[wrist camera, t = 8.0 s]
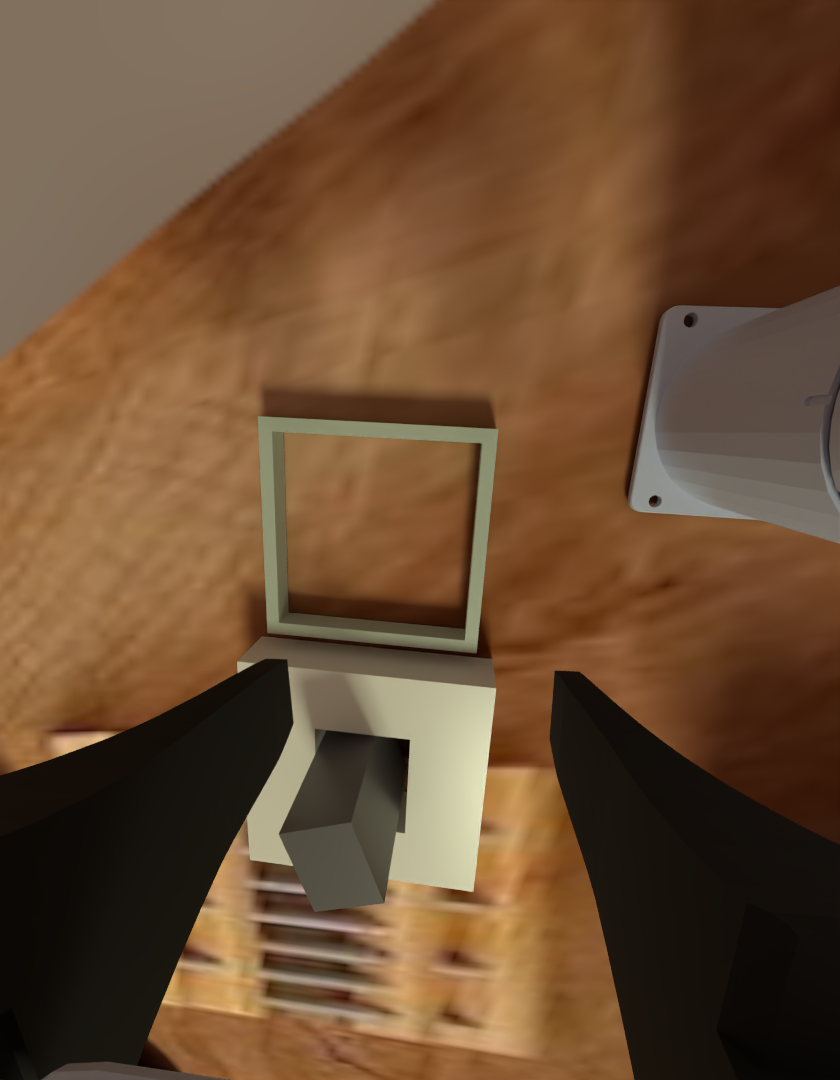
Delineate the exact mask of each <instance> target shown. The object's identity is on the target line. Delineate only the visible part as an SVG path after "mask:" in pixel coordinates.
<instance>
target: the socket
mask: <svg viewBox="0 0 840 1080" xmlns="http://www.w3.org/2000/svg"><path fill="white" fill-rule="evenodd" d="M266 658H267V659H287V661H288V671H289V681H290V691H291V701H292V711H293V721H294V724H293V727H292V729H291V732H290V734H289V737H288V739H287V742H286V744H285V747H284V749H283V752H282V754H281V756H280V759H279V760H278V762H277V764H276V766H275V768H274V770H273V771H272V773H271V775H270V777H269V779H268V780H267V782H266V784H265V786H264V787H263V789H262V791H261V793H260V795H259V796H258V798H257V800H256V802H255V803H254V805H253V807H252V809H251V810H250V812H249V814H248V816H247V821H248V836H249V851H250V860H256V861H263V862H270V863H277V864H284V865H291V866H293V864H292V862H291V860H290V858H289V855H288V853H287V851H286V849H285V847H284V845H283V842H282V840H281V838H280V836H279V832H280V830H281V828H282V826H283V824H284V821H285V819H286V817H287V815H288V813H289V810H290V808H291V806H292V804H293V802H294V800H295V797H296V795H297V793H298V791H299V789H300V786H301V784H302V782H303V780H304V778H305V776H306V773H307V771H308V769H309V767H310V765H311V762H312V760H313V758H314V756H315V754H316V752H317V749H318V747H319V745H320V743H321V741H322V738H323V736H324V734H325V732H326V730H331V731H339V732H348V733H357V734H365V735H374V736H382V737H391V738H400V739H408V740H410V751H409V769H408V787H407V792H404V791H403V794H402V800H401V806H400V812H399V818H398V824H397V830H396V835H395V841H394V847H393V853H392V859H391V865H390V871H389V877H388V880H395V881H402V882H409V883H416V884H423V885H430V886H436V887H443V888H450V889H457V890H464V891H471V892H473V889H474V880H475V871H476V862H477V854H478V845H479V836H480V827H481V818H482V809H483V800H484V792H485V783H486V774H487V765H488V756H489V747H490V739H491V730H492V721H493V712H494V703H495V694H496V683H495V676H494V668H493V660H492V659H488V658H477V657H467V656H457V655H447V654H437V653H426V652H416V651H406V650H396V649H386V648H376V647H365V646H355V645H345V644H335V643H325V642H315V641H304V640H294V639H284V638H274V637H264V636H262V637H261V638H260V639H259V640H258V641H257V642H256V643H255V644H254V645H253V646H252V647H251V648H250V649H249V650H248V651H247V652H246V653H245V654H244V655H243V656H242V657H241V658H240V659H239V660H238V661H237V667H238V673H239V672H240V671H242V670H244V669H246V668H248V667H250V666H251V665H253V664H255V663H257V662H259V661H262V660H264V659H266Z"/></svg>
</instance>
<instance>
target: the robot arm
mask: <svg viewBox="0 0 840 1080" xmlns="http://www.w3.org/2000/svg"><path fill="white" fill-rule="evenodd" d="M686 315H689V316H691V317H692V319H693V324H692V326H691V327H690V328H689V327H686V326H685V324H684V318H685V316H686ZM654 495H656V496H657V499H658V501H657V503H656V504H655V505H653V506H650V505H649V499H650V498H651V497H652V496H654ZM628 504H629V506H630V507H631V508H632V509H633V510H635V511H639V512H650V513H665V514H679V515H694V516H709V517H724V518H738V519H753V520H762V521H765V522H768V523H772V524H775V525H778V526H782V527H785V528H789V529H792V530H795V531H799V532H802V533H805V534H809V535H812V536H816V537H819V538H822V539H826V540H829V541H832V542H836V543H839V544H840V286H837V287H835V288H832V289H830V290H827V291H825V292H822V293H819V294H817V295H814V296H812V297H809V298H806V299H804V300H801V301H799V302H796V303H794V304H791V305H788V306H786V307H783V308H753V307H719V306H684V305H679V306H674V307H672V308H670V309H669V310H667V311H665V313H664V314H663V315H662V316H661V319H660V322H659V328H658V333H657V339H656V344H655V350H654V356H653V361H652V367H651V372H650V378H649V383H648V389H647V394H646V400H645V405H644V411H643V417H642V422H641V428H640V433H639V439H638V444H637V450H636V455H635V461H634V466H633V472H632V477H631V483H630V489H629V494H628ZM293 724H294V721H293V711H292V701H291V691H290V681H289V671H288V661H287V659H267V658H266V659H264V660H262V661H259V662H257V663H255V664H253V665H251V666H250V667H248V668H246V669H244V670H242V671H240V672H239V673H237V674H235V675H233V676H232V677H230V678H228V679H226V680H224V681H223V682H221V683H219V684H217V685H216V686H214V687H212V688H210V689H208V690H207V691H205V692H203V693H201V694H199V695H198V696H196V697H194V698H192V699H190V700H188V701H186V702H184V703H182V704H180V705H178V706H176V707H174V708H173V709H171V710H169V711H167V712H165V713H163V714H161V715H159V716H157V717H155V718H153V719H151V720H149V721H146V722H144V723H142V724H140V725H138V726H136V727H133V728H131V729H129V730H126V731H124V732H122V733H119V734H117V735H115V736H112V737H110V738H107V739H105V740H103V741H100V742H97V743H95V744H92V745H89V746H86V747H84V748H81V749H78V750H76V751H73V752H70V753H68V754H65V755H62V756H59V757H57V758H54V759H51V760H48V761H45V762H42V763H39V764H36V765H33V766H30V767H27V768H24V769H21V770H17V771H14V772H11V773H7V774H4V775H1V776H0V1080H229V1079H222V1078H215V1077H209V1076H202V1075H195V1074H188V1073H181V1072H174V1071H168V1070H161V1069H154V1068H147V1067H140V1066H137V1064H138V1062H139V1059H140V1056H141V1054H142V1051H143V1048H144V1046H145V1043H146V1041H147V1038H148V1035H149V1033H150V1030H151V1028H152V1025H153V1023H154V1020H155V1018H156V1015H157V1013H158V1010H159V1008H160V1005H161V1003H162V1000H163V998H164V995H165V993H166V990H167V988H168V985H169V983H170V980H171V978H172V975H173V973H174V970H175V968H176V966H177V963H178V961H179V958H180V956H181V954H182V951H183V949H184V947H185V944H186V942H187V940H188V937H189V935H190V933H191V930H192V928H193V926H194V923H195V921H196V919H197V916H198V914H199V912H200V909H201V907H202V905H203V903H204V901H205V898H206V896H207V894H208V892H209V890H210V887H211V885H212V883H213V881H214V879H215V877H216V874H217V872H218V870H219V868H220V866H221V863H222V861H223V859H224V857H225V855H226V854H227V852H228V850H229V848H230V846H231V844H232V842H233V840H234V838H235V837H236V835H237V833H238V831H239V830H240V828H241V826H242V824H243V823H244V821H245V819H246V817H247V816H248V814H249V812H250V810H251V809H252V807H253V805H254V803H255V802H256V800H257V798H258V796H259V795H260V793H261V791H262V789H263V787H264V786H265V784H266V782H267V780H268V779H269V777H270V775H271V773H272V771H273V770H274V768H275V766H276V764H277V762H278V760H279V759H280V756H281V754H282V752H283V749H284V747H285V744H286V742H287V739H288V737H289V734H290V732H291V729H292V727H293ZM550 742H551V748H552V753H553V758H554V763H555V768H556V773H557V778H558V781H559V784H560V787H561V790H562V794H563V797H564V800H565V803H566V806H567V809H568V812H569V815H570V819H571V822H572V825H573V828H574V831H575V834H576V837H577V840H578V843H579V846H580V849H581V852H582V855H583V859H584V862H585V865H586V868H587V871H588V874H589V878H590V881H591V885H592V888H593V892H594V895H595V899H596V904H597V908H598V912H599V917H600V921H601V925H602V930H603V934H604V938H605V943H606V947H607V951H608V956H609V961H610V965H611V970H612V974H613V979H614V984H615V988H616V993H617V997H618V1002H619V1006H620V1011H621V1016H622V1021H623V1025H624V1030H625V1035H626V1040H627V1045H628V1050H629V1055H630V1060H631V1065H632V1070H633V1075H634V1079H635V1080H840V845H839V844H837V843H835V842H832V841H830V840H828V839H826V838H824V837H822V836H820V835H818V834H816V833H814V832H812V831H810V830H808V829H806V828H804V827H802V826H800V825H798V824H796V823H794V822H792V821H791V820H789V819H787V818H785V817H783V816H781V815H779V814H777V813H775V812H774V811H772V810H770V809H768V808H767V807H765V806H763V805H761V804H759V803H758V802H756V801H754V800H752V799H751V798H749V797H747V796H745V795H744V794H742V793H740V792H738V791H737V790H735V789H733V788H732V787H730V786H728V785H727V784H725V783H723V782H722V781H720V780H718V779H717V778H715V777H714V776H712V775H711V774H709V773H708V772H706V771H705V770H703V769H702V768H700V767H699V766H697V765H695V764H694V763H692V762H691V761H689V760H688V759H686V758H685V757H684V756H682V755H681V754H679V753H678V752H676V751H675V750H674V749H672V748H671V747H670V746H668V745H667V744H666V743H664V742H663V741H662V740H660V739H659V738H658V737H656V736H655V735H654V734H652V733H651V732H650V731H648V730H647V729H646V728H645V727H643V726H642V725H641V724H640V723H638V722H637V721H636V720H635V719H634V718H632V717H631V716H630V715H629V714H627V713H626V712H625V711H624V710H623V709H622V708H620V707H619V706H618V705H617V704H616V703H615V702H613V701H612V700H611V699H610V698H609V697H608V696H607V695H605V694H604V693H603V692H602V691H601V690H600V689H599V688H598V687H596V686H595V685H594V684H593V683H592V682H591V681H590V680H589V679H587V678H586V677H585V676H584V675H583V674H581V673H580V672H573V671H555V676H554V689H553V702H552V715H551V728H550Z"/></svg>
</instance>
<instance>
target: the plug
mask: <svg viewBox="0 0 840 1080" xmlns="http://www.w3.org/2000/svg"><path fill="white" fill-rule="evenodd" d="M406 770H407V764H406V762H405V759H404V756H403V753H402V751H401V748H400V745H399V742H398V740H397V738H391V737H382V736H374V735H365V734H357V733H348V732H339V731H331V730H326V732H325V734H324V736H323V738H322V741H321V743H320V745H319V747H318V749H317V752H316V754H315V756H314V758H313V760H312V762H311V765H310V767H309V769H308V771H307V773H306V776H305V778H304V780H303V782H302V784H301V786H300V789H299V791H298V793H297V795H296V797H295V800H294V802H293V804H292V806H291V808H290V810H289V813H288V815H287V817H286V819H285V821H284V824H283V826H282V828H281V830H280V832H279V836H280V838H281V840H282V842H283V845H284V847H285V849H286V851H287V853H288V855H289V858H290V860H291V862H292V864H293V866H294V868H295V871H296V873H297V875H298V877H299V879H300V881H301V884H302V886H303V888H304V890H305V892H306V894H307V897H308V899H309V901H310V903H311V905H312V907H313V910H314V912H318V911H326V910H334V909H342V908H349V907H357V906H365V905H373V904H381V903H384V901H385V895H386V889H387V883H388V877H389V871H390V865H391V859H392V853H393V847H394V841H395V835H396V830H397V824H398V818H399V812H400V806H401V800H402V794H403V788H404V782H405V776H406Z"/></svg>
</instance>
